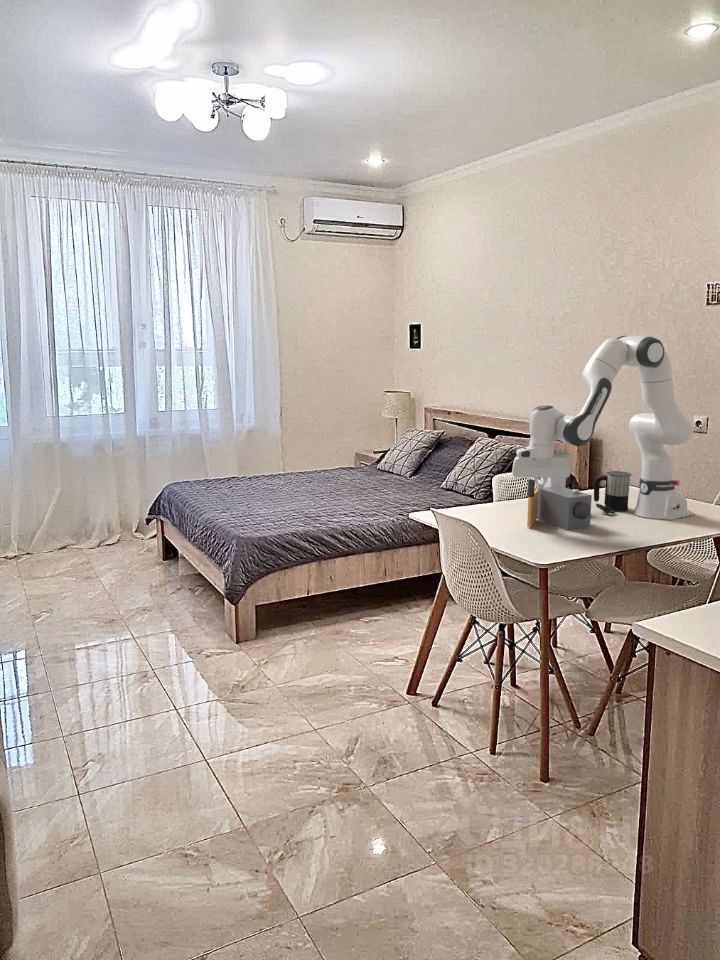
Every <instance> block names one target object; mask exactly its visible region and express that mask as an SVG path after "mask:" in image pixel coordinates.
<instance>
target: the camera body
mask: <svg viewBox="0 0 720 960" xmlns="http://www.w3.org/2000/svg"><path fill="white" fill-rule="evenodd" d="M592 497H593V495H592V494H589V493H585V492H582V491H580V489H578V488H577V489H576V488H575V489H574V488H573V489H571V488H569V487H566V486H565V487H562V486H556V487H546V488H544V490H538V512H537V519H536V520H538V519H539V520H538V521H541V522H543V521H544V523H546V522H547V523H546V524H549V523H550V524H549V525H552V526H554V525H555V527H557V526H558V527H557V528H559V529H562V528H563V530H565V529H566V530H565V531H573V530H572V529H575V530H581V529H580V528H582V529H589V528H588V527H590V528H591V516H592Z"/></svg>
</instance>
